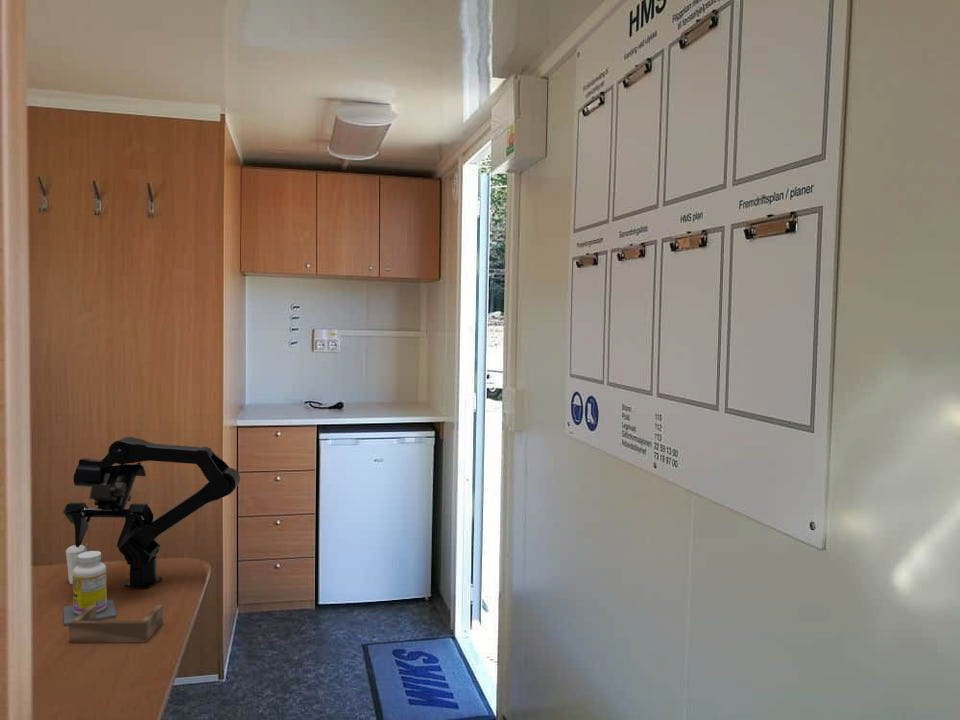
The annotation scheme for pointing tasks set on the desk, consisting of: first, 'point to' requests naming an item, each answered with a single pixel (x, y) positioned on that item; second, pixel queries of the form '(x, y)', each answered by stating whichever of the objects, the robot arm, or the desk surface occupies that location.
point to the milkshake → (73, 559)
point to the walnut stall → (113, 627)
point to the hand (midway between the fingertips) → (97, 546)
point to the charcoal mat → (105, 614)
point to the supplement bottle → (89, 582)
